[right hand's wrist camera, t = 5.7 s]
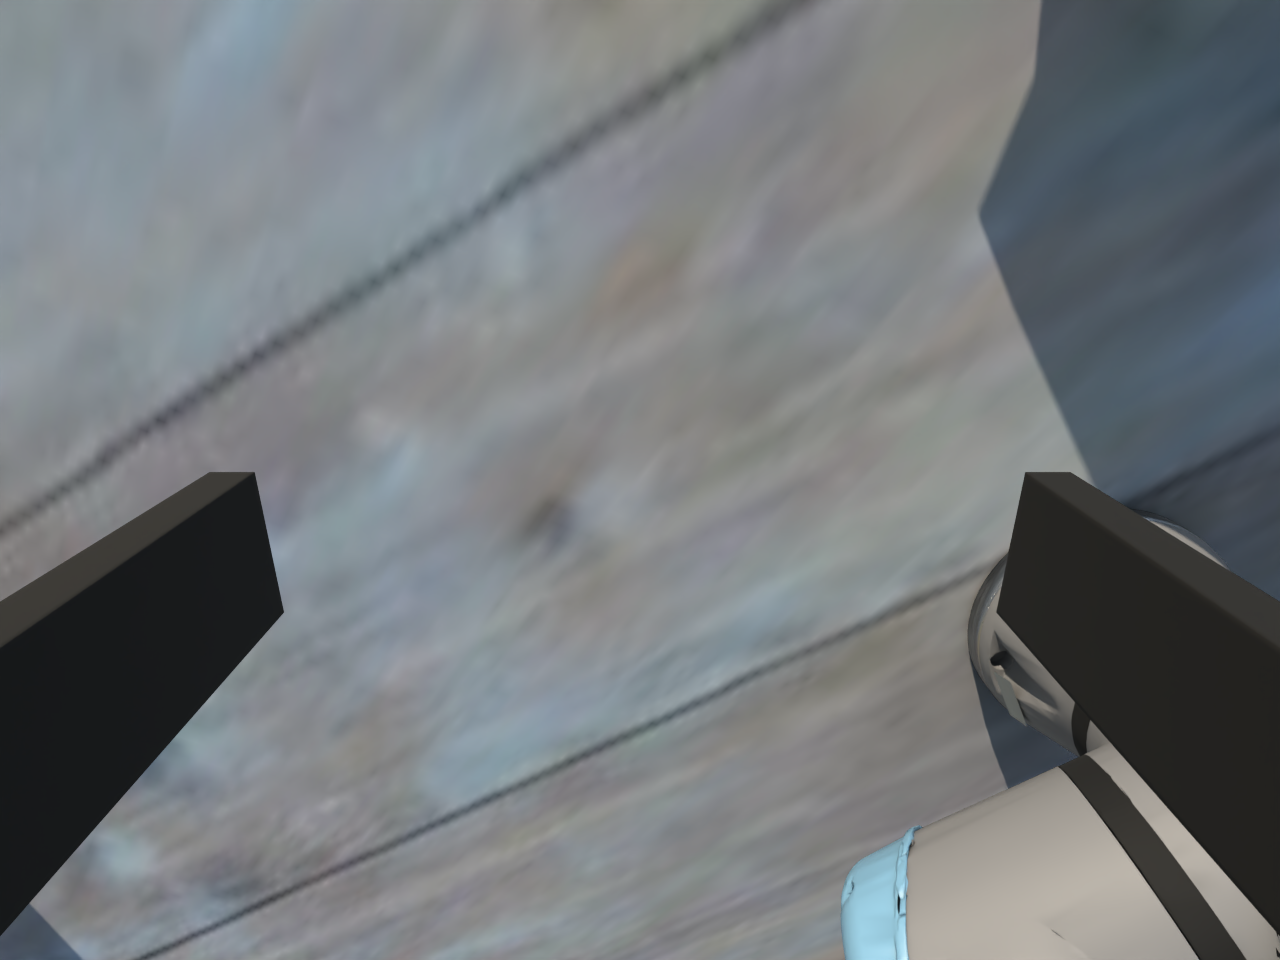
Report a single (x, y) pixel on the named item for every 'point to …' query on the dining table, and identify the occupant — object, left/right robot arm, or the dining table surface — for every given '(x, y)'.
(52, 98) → the dining table surface
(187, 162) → the dining table surface
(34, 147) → the dining table surface
